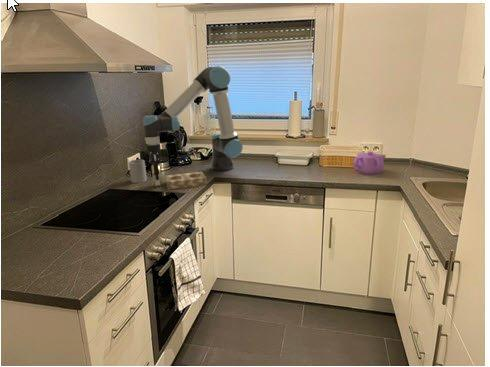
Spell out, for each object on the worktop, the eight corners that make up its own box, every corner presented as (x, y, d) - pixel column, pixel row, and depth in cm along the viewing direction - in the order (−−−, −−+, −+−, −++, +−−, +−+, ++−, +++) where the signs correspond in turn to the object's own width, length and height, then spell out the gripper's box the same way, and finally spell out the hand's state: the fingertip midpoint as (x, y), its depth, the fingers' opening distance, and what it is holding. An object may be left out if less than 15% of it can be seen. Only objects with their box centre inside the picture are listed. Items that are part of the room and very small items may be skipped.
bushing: (161, 184, 204) (159, 164, 200) (162, 186, 200) (159, 166, 196) (153, 185, 202) (151, 165, 199) (154, 187, 198) (151, 166, 195)
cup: (141, 183, 206) (138, 163, 203) (128, 182, 209) (125, 163, 205) (149, 178, 215) (147, 159, 211) (136, 177, 217) (134, 159, 214)
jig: (202, 177, 213) (201, 171, 212) (206, 184, 200) (206, 177, 199) (165, 182, 207) (165, 175, 206) (168, 189, 194) (167, 182, 193)
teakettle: (352, 173, 211) (353, 153, 208) (356, 166, 226) (357, 148, 222) (382, 176, 204) (384, 156, 201) (384, 169, 219) (386, 149, 215)
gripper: (145, 141, 200) (150, 180, 208) (146, 147, 185) (151, 189, 192) (158, 140, 202) (162, 178, 210) (161, 146, 187) (165, 187, 194)
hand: (157, 183), depth 201 cm, fingers closed on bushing, 4 cm apart
